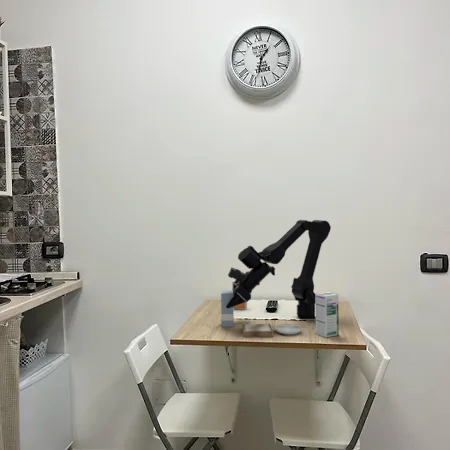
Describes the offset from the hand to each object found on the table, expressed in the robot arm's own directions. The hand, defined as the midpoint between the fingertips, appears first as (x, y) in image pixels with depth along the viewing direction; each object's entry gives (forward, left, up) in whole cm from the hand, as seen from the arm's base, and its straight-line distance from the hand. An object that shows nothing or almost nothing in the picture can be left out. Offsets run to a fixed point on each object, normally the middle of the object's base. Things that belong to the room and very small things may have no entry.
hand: (226, 304), depth 181 cm
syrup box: (-35, +14, -8) cm, 38 cm away
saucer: (-22, +11, -8) cm, 25 cm away
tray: (-11, +11, -8) cm, 17 cm away
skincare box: (-6, -26, -8) cm, 28 cm away
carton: (0, 0, -8) cm, 8 cm away
